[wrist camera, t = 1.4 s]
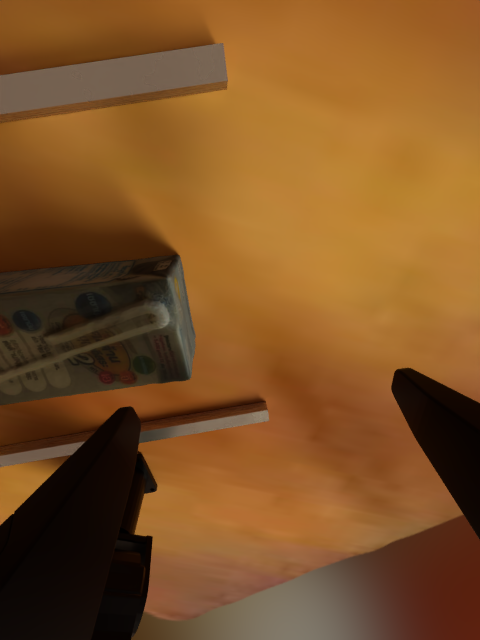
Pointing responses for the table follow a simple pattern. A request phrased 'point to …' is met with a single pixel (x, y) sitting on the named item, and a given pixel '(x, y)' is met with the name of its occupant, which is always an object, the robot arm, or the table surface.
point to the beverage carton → (93, 328)
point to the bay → (104, 91)
